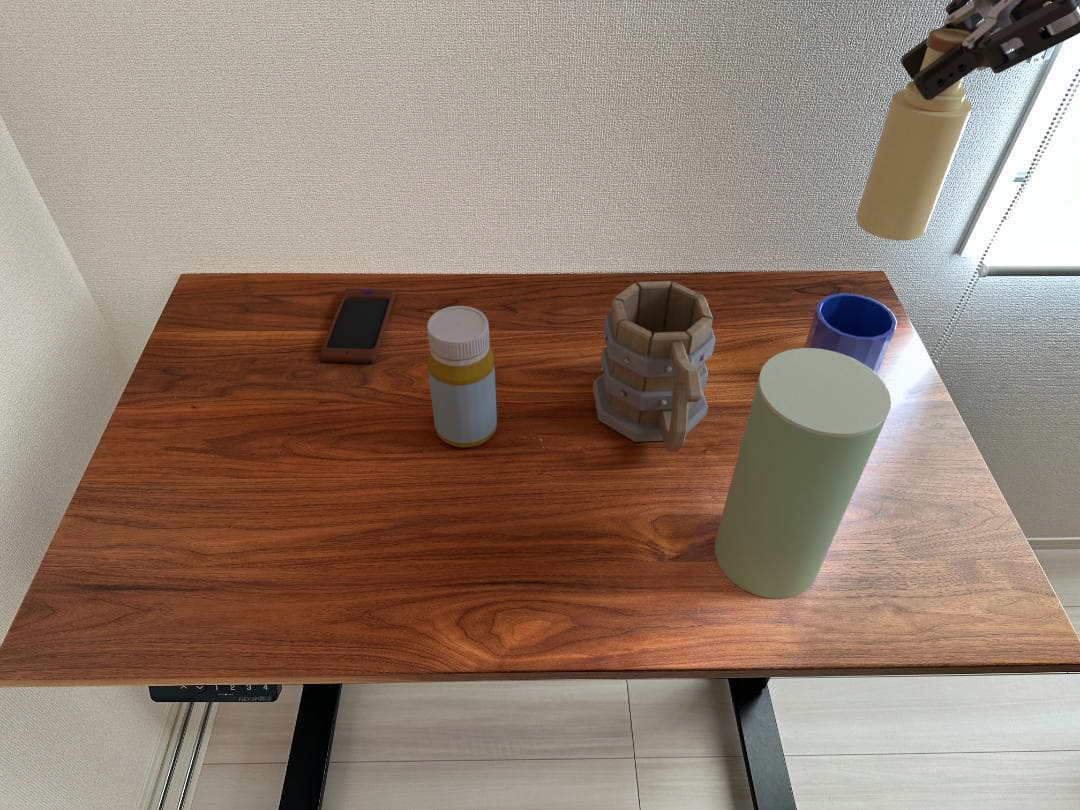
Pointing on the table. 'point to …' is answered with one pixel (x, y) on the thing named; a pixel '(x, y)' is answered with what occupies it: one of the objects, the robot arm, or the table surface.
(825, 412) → the green stand
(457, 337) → the bottle
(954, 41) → the cream bottle
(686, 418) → the tankard
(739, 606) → the table surface
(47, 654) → the table surface
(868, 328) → the blue cup
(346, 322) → the smartphone
